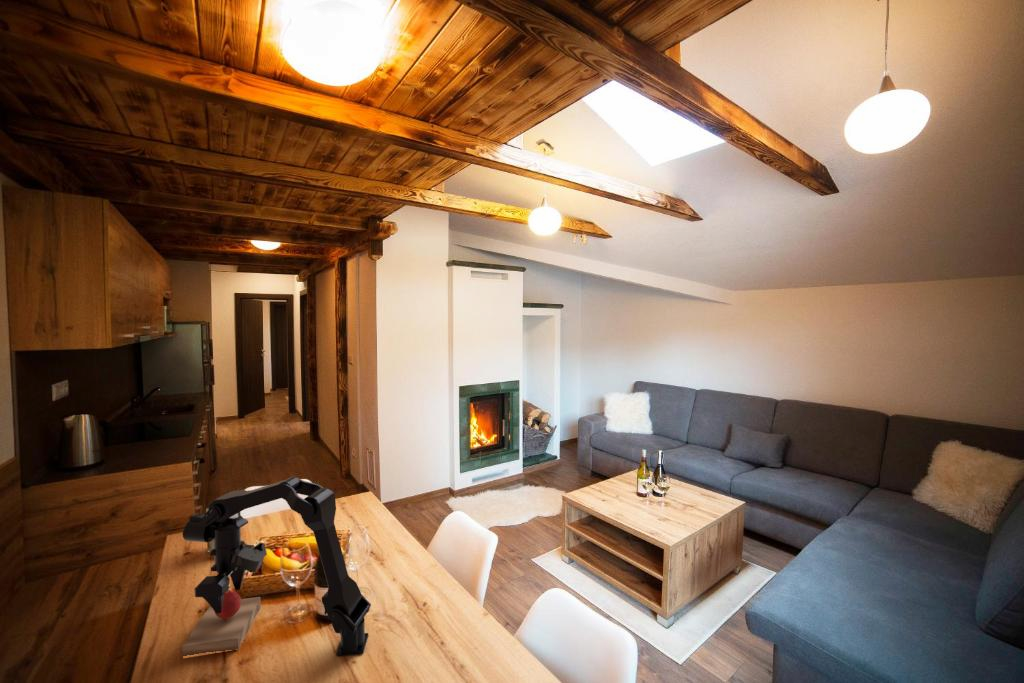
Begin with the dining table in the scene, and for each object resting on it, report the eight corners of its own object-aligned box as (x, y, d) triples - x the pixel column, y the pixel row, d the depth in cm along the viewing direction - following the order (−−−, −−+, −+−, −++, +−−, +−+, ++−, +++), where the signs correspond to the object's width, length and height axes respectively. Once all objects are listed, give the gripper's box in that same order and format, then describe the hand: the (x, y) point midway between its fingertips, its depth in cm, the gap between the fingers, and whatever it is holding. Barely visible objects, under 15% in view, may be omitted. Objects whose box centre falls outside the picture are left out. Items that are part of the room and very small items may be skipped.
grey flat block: (238, 653, 105) (238, 637, 105) (182, 662, 102) (182, 646, 102) (260, 610, 120) (260, 596, 120) (212, 616, 117) (212, 603, 117)
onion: (234, 609, 115) (238, 580, 115) (242, 619, 111) (246, 589, 111) (209, 619, 110) (213, 588, 110) (217, 629, 107) (221, 597, 107)
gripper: (242, 560, 101) (243, 623, 102) (276, 523, 120) (276, 577, 121) (192, 563, 100) (193, 627, 101) (233, 525, 118) (235, 579, 119)
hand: (228, 600), depth 110 cm, fingers open, 9 cm apart
